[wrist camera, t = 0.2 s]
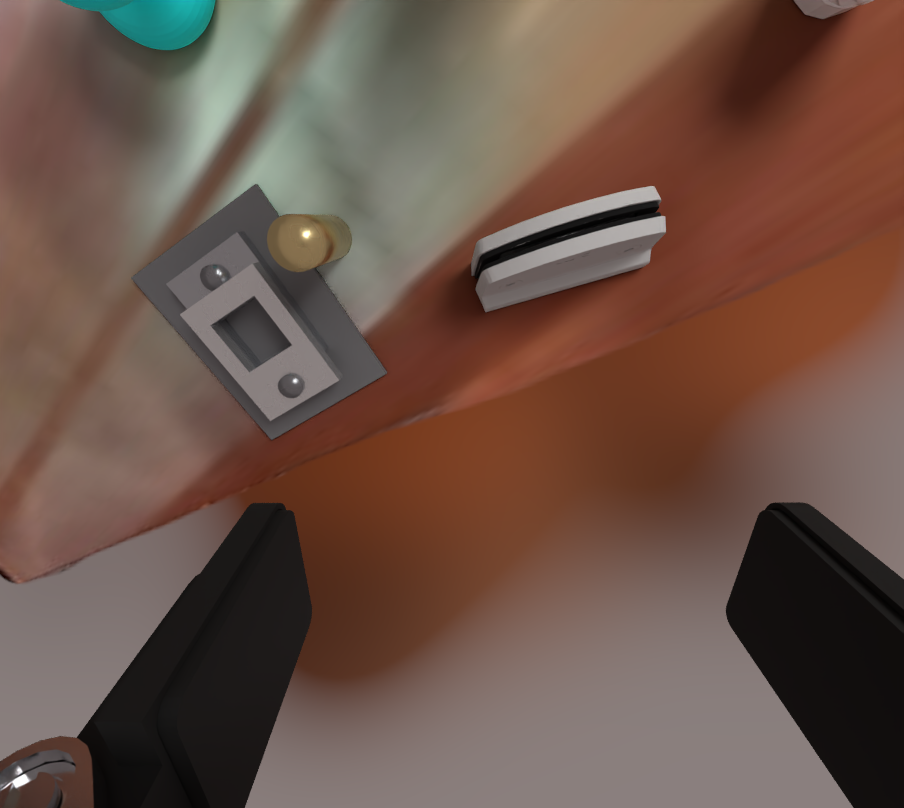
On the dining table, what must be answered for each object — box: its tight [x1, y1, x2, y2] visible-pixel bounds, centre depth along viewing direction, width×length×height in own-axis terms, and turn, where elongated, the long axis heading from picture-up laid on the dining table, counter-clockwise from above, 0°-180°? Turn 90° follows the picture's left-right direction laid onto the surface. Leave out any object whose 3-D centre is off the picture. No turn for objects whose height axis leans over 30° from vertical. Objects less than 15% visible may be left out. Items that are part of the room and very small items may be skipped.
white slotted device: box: [471, 186, 666, 312], centre depth 37 cm, size 17×5×10 cm, turn 106°
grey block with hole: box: [166, 231, 343, 421], centre depth 42 cm, size 16×9×4 cm, turn 31°
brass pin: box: [267, 214, 352, 272], centre depth 36 cm, size 4×4×10 cm
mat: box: [131, 184, 387, 440], centre depth 44 cm, size 21×16×1 cm
